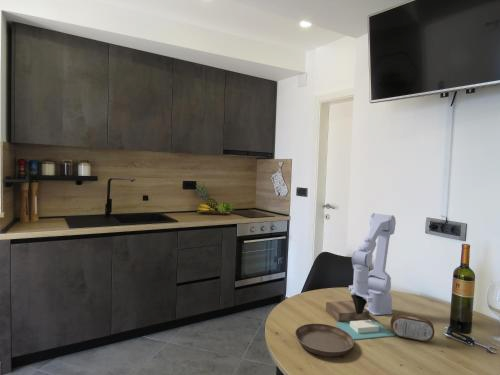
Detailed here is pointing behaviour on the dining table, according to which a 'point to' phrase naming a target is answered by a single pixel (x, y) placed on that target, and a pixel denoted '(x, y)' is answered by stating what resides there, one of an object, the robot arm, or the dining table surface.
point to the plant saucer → (324, 339)
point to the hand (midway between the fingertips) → (359, 313)
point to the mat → (356, 336)
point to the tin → (412, 327)
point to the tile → (364, 326)
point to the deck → (345, 311)
